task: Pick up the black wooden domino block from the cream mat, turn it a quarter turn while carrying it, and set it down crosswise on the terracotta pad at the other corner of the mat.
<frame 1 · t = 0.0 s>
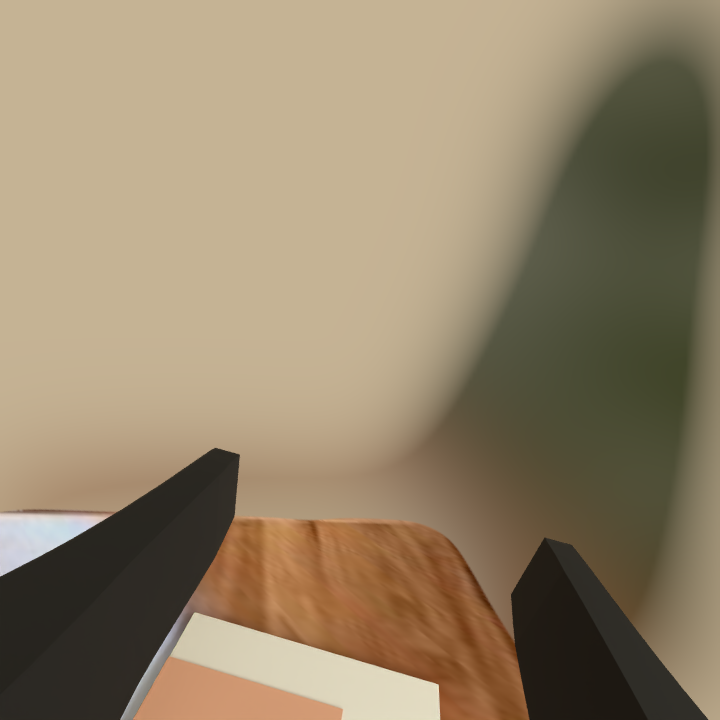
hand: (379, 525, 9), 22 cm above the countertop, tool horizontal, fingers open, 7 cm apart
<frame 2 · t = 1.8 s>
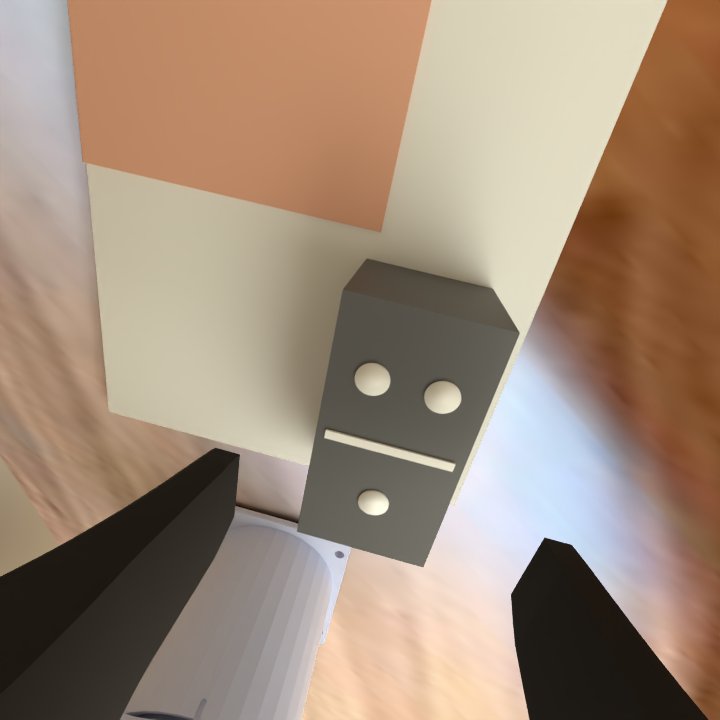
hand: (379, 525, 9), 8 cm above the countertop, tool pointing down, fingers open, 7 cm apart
domino block: (398, 381, 16), point 1 cm above the countertop, touching cream mat
cream mat: (314, 228, 15), on the countertop
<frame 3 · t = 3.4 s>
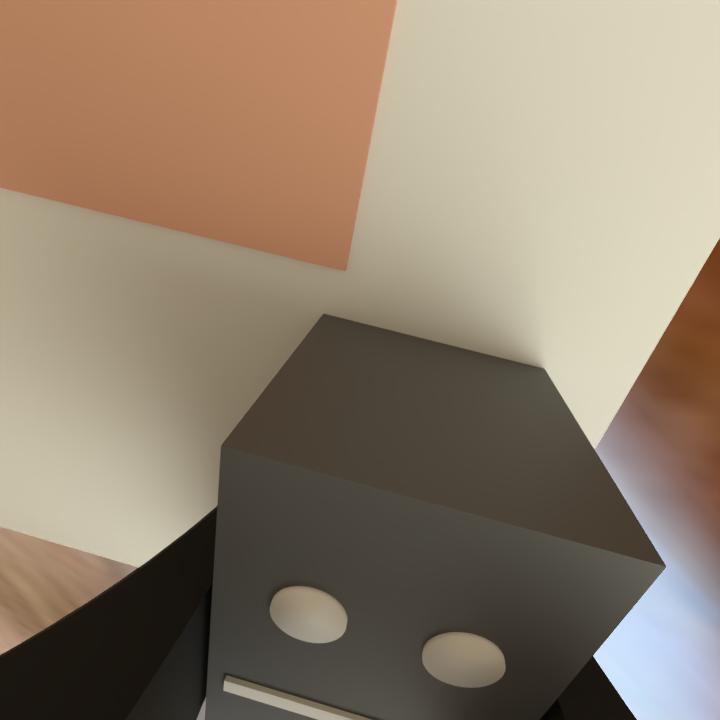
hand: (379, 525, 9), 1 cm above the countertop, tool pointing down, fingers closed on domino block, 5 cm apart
domino block: (382, 500, 10), point 1 cm above the countertop, touching cream mat, gripper
cream mat: (236, 259, 9), on the countertop
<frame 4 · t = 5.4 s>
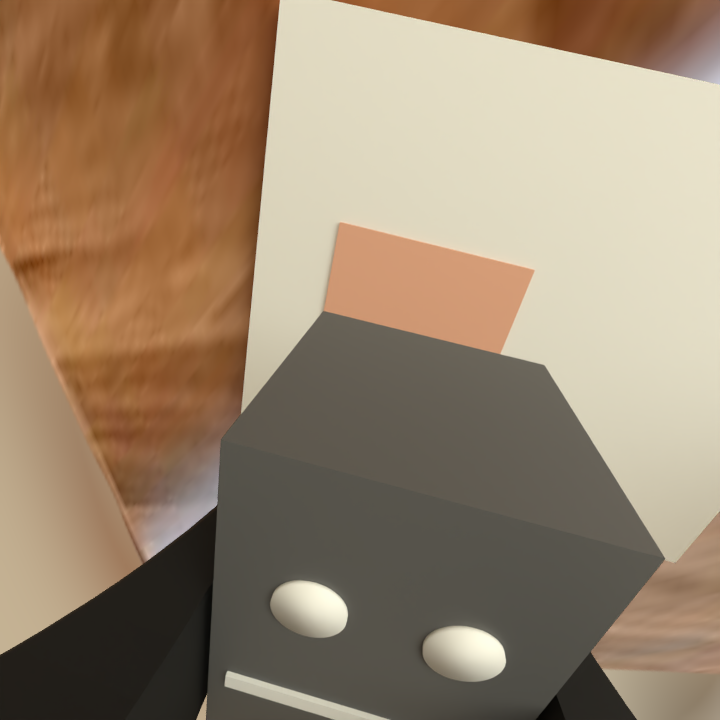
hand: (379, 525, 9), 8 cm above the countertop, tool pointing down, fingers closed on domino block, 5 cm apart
domino block: (383, 498, 10), point 8 cm above the countertop, touching gripper
cream mat: (517, 331, 15), on the countertop
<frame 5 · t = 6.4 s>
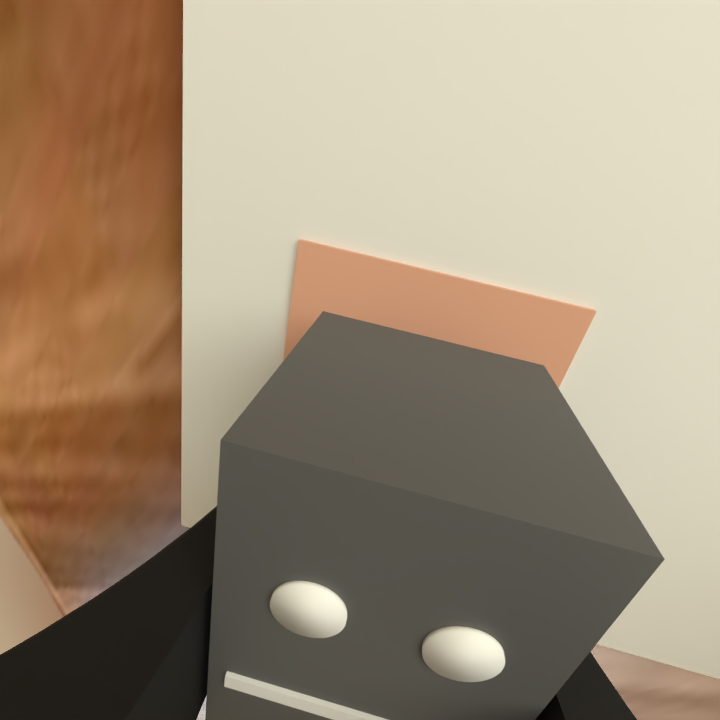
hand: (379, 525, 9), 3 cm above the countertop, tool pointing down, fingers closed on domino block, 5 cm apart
domino block: (382, 498, 10), point 2 cm above the countertop, touching gripper
cream mat: (561, 393, 11), on the countertop
when the fingers open (3 cm above the countertop, at t = 7.3 s): domino block drops 1 cm, resting on cream mat.
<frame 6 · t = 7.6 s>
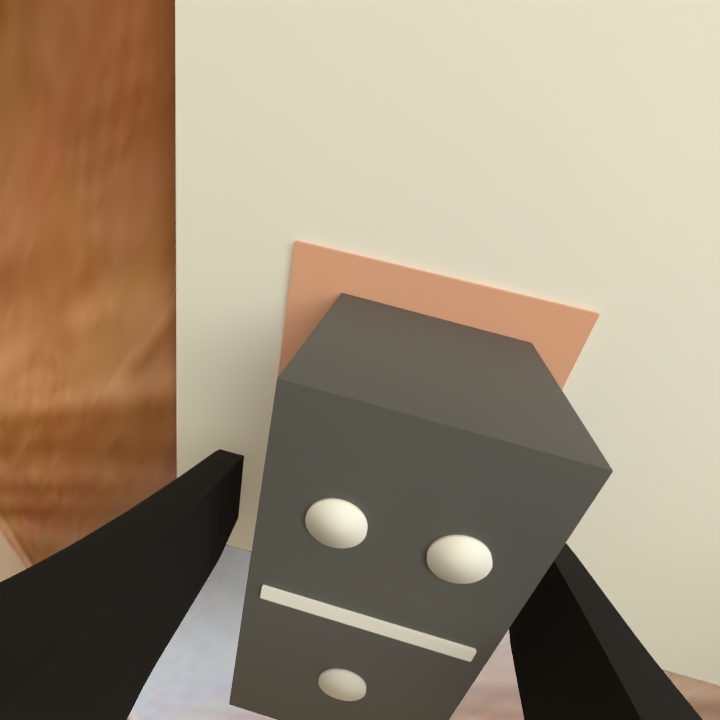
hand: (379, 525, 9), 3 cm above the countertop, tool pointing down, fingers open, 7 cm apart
domino block: (388, 462, 11), point 1 cm above the countertop, touching cream mat
cream mat: (563, 397, 10), on the countertop
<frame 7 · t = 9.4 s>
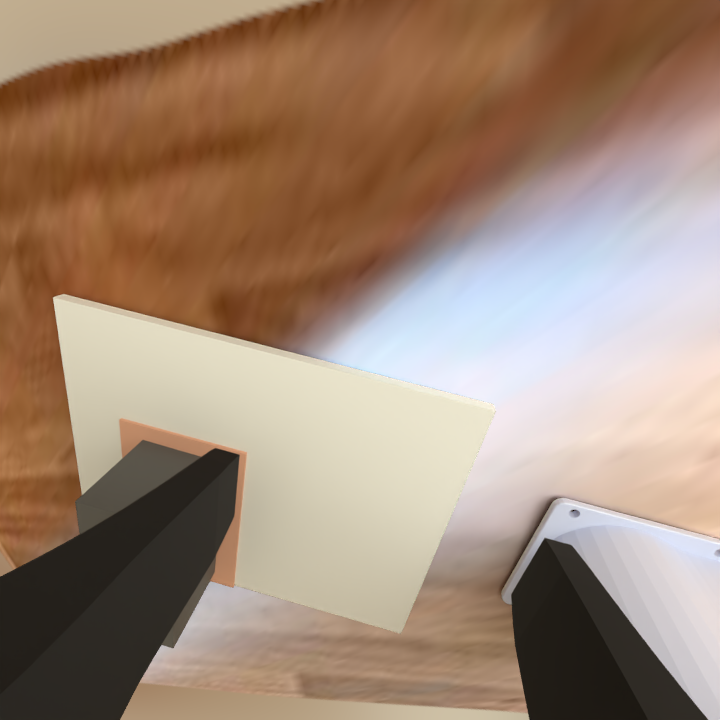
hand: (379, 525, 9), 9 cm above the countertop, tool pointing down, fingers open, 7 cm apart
domino block: (181, 511, 23), point 1 cm above the countertop, touching cream mat
cream mat: (256, 482, 22), on the countertop
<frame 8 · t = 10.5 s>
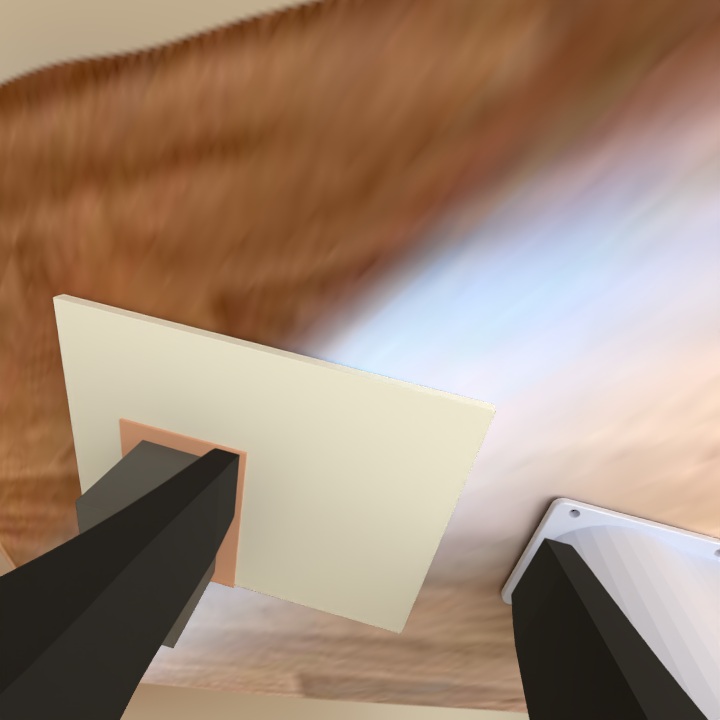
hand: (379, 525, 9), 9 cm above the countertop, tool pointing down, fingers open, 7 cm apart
domino block: (181, 511, 23), point 1 cm above the countertop, touching cream mat
cream mat: (256, 482, 22), on the countertop
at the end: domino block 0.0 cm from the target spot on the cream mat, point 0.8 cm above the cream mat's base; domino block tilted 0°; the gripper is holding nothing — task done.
